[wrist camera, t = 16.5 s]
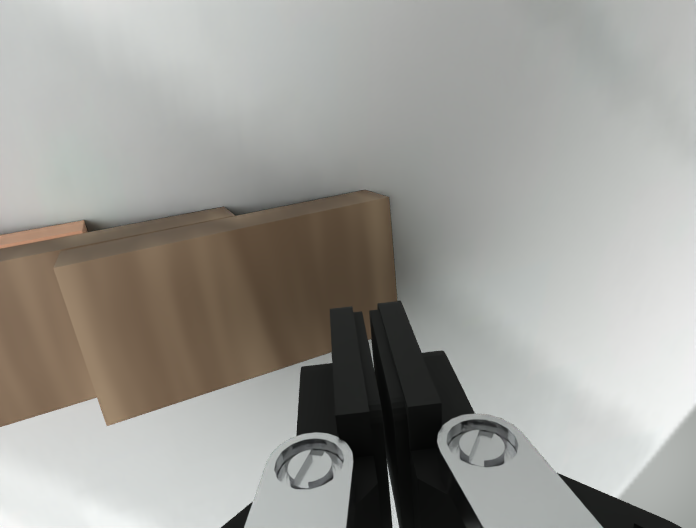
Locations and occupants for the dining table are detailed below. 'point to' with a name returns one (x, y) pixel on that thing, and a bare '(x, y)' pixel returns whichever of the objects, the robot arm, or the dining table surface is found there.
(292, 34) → the dining table surface
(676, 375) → the dining table surface
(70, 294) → the domino
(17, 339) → the domino
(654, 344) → the dining table surface
